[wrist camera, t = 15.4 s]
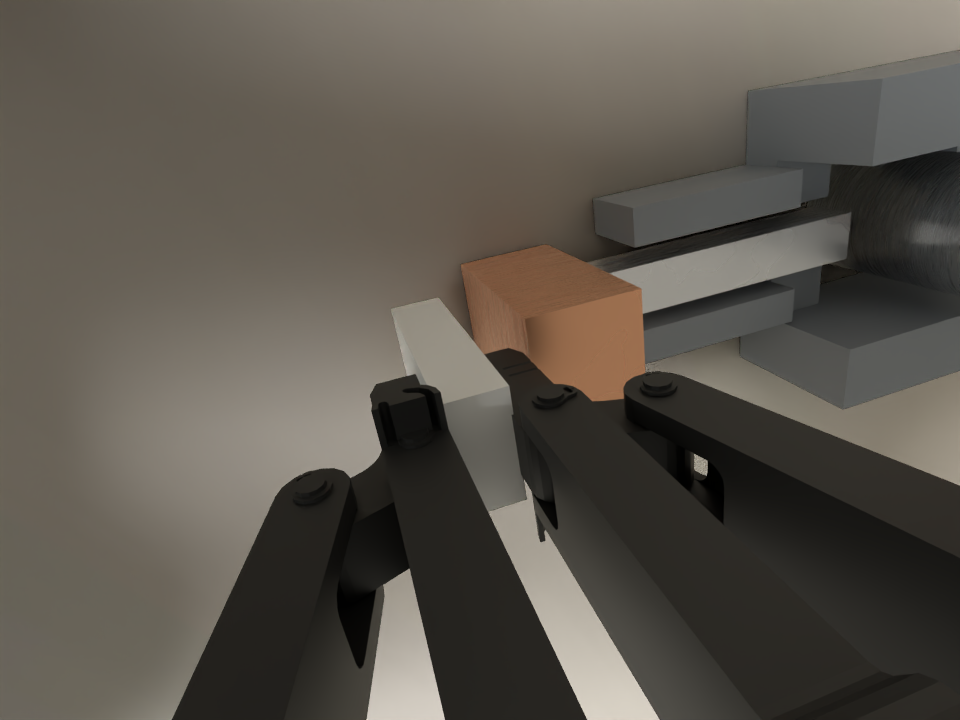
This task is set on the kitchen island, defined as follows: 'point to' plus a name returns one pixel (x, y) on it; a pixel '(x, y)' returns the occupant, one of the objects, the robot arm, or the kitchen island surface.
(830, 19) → the kitchen island surface
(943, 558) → the robot arm
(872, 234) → the grey cylinder
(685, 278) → the pin
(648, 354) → the mount
